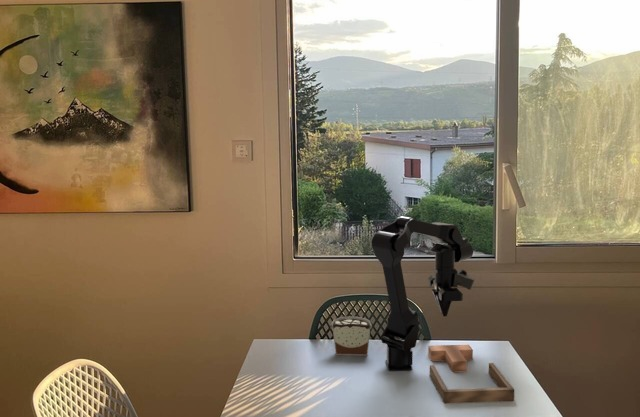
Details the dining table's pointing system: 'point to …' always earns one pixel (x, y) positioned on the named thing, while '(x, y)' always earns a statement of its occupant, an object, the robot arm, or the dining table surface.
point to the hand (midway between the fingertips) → (444, 315)
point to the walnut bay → (475, 395)
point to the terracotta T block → (452, 355)
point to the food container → (351, 335)
